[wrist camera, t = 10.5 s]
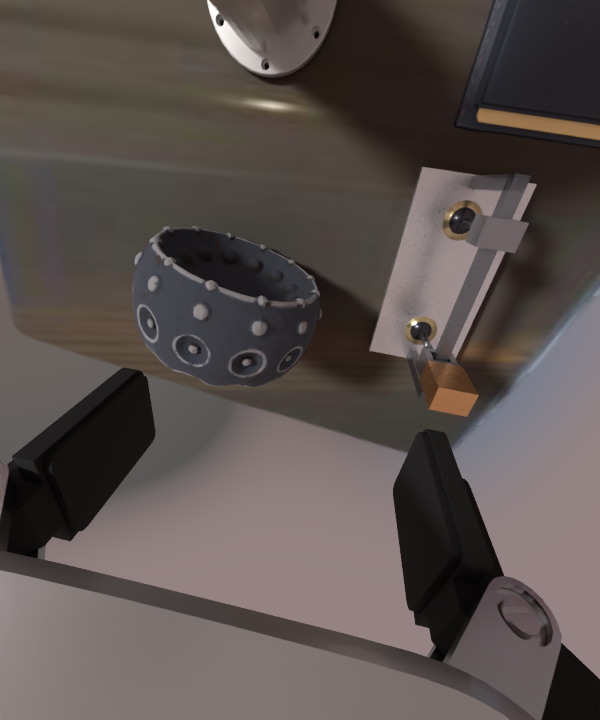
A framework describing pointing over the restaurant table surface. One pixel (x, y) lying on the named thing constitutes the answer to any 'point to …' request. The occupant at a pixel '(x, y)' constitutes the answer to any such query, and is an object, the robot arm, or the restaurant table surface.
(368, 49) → the restaurant table surface
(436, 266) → the switch panel
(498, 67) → the dark grey flat slab
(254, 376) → the ring
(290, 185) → the restaurant table surface
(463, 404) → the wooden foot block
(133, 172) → the restaurant table surface
